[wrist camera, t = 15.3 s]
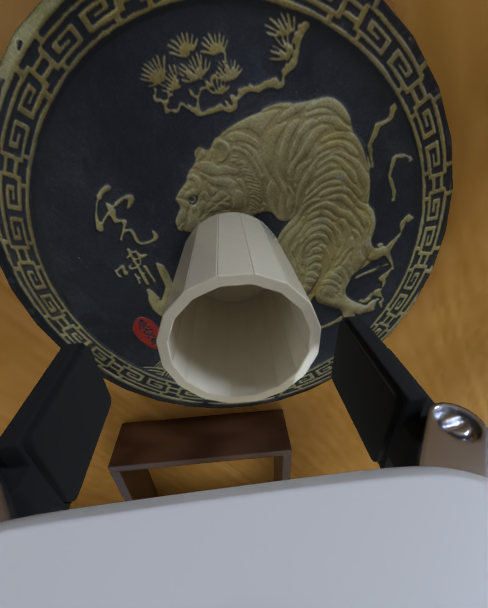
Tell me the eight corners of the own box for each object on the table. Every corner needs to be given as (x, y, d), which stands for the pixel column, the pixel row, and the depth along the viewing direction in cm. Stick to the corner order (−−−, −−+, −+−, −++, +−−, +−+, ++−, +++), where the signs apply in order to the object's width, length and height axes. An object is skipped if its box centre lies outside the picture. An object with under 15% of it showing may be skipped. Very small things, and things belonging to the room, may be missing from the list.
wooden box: (155, 504, 38) (147, 545, 34) (122, 423, 30) (107, 467, 26) (279, 491, 39) (286, 531, 35) (282, 409, 30) (291, 449, 26)
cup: (190, 306, 21) (173, 409, 13) (175, 215, 17) (140, 281, 10) (279, 299, 21) (313, 396, 13) (281, 208, 18) (328, 267, 10)
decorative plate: (135, 443, 28) (-194, 69, 13) (139, 426, 30) (-148, 76, 15) (444, 357, 26) (493, -239, 10) (430, 344, 27) (455, -189, 12)
